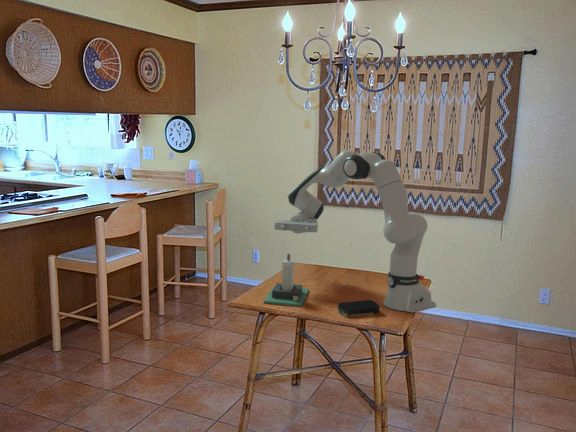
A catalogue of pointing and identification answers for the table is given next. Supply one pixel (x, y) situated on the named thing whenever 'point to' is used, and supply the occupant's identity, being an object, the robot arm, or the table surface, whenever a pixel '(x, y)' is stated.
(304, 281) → the table surface
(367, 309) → the black scrub brush
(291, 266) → the plug
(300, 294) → the board
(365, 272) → the table surface
